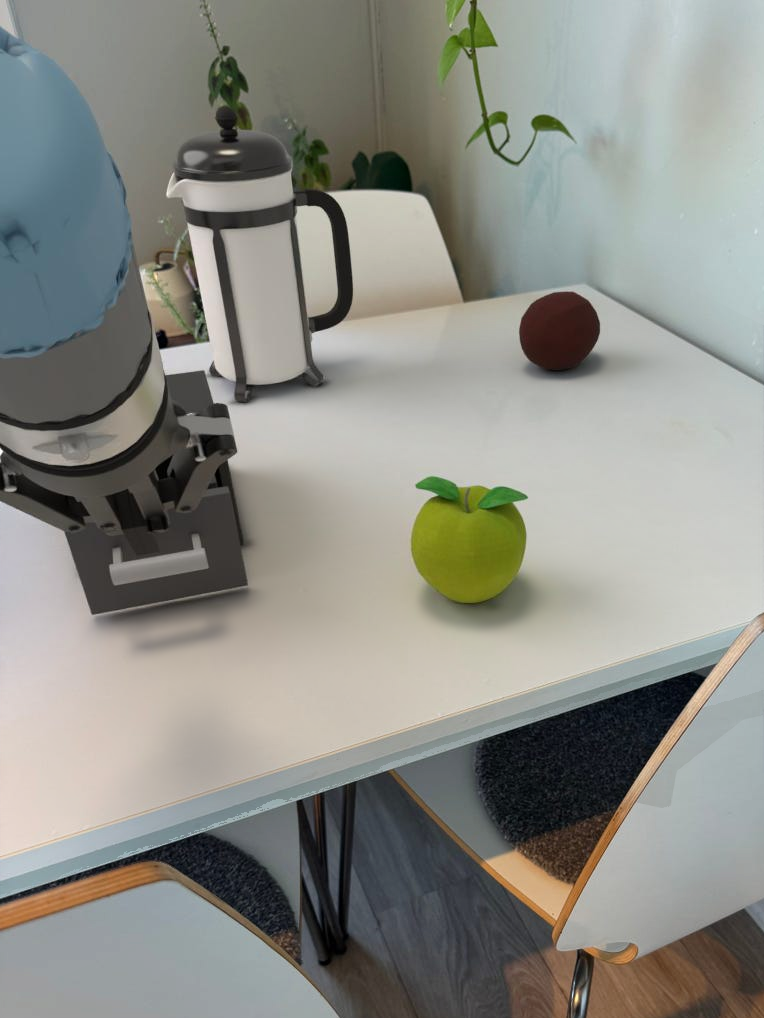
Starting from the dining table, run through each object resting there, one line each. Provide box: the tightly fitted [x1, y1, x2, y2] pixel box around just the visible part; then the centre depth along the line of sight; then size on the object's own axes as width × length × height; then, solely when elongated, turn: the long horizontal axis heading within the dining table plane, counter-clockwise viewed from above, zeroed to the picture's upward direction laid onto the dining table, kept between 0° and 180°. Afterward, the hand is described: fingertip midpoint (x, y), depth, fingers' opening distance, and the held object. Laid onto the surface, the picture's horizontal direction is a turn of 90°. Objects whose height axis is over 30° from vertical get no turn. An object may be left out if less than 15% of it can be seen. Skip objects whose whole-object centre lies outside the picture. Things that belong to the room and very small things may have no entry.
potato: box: [518, 291, 601, 371], centre depth 115 cm, size 9×12×9 cm
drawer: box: [63, 455, 249, 616], centre depth 77 cm, size 19×13×9 cm, turn 19°
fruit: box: [410, 475, 529, 604], centre depth 75 cm, size 9×9×10 cm
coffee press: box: [166, 105, 354, 403], centre depth 107 cm, size 17×16×30 cm
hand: (144, 534), depth 60 cm, fingers closed
